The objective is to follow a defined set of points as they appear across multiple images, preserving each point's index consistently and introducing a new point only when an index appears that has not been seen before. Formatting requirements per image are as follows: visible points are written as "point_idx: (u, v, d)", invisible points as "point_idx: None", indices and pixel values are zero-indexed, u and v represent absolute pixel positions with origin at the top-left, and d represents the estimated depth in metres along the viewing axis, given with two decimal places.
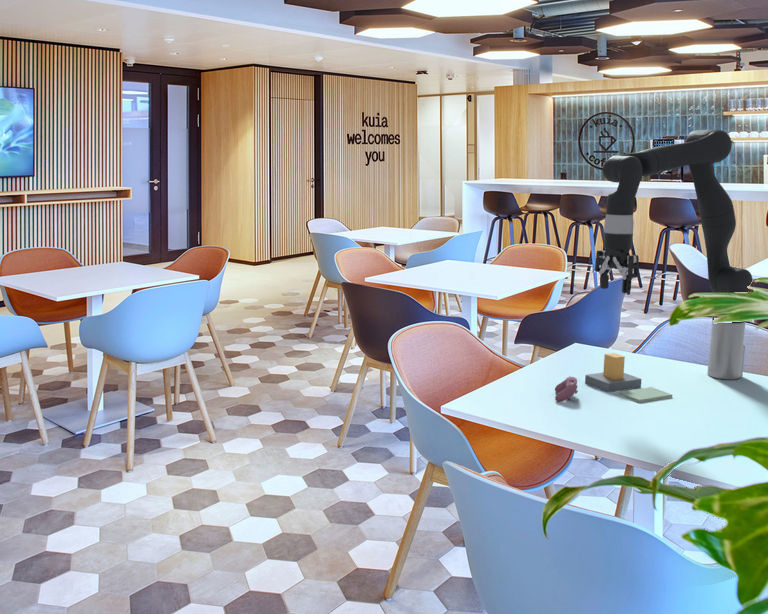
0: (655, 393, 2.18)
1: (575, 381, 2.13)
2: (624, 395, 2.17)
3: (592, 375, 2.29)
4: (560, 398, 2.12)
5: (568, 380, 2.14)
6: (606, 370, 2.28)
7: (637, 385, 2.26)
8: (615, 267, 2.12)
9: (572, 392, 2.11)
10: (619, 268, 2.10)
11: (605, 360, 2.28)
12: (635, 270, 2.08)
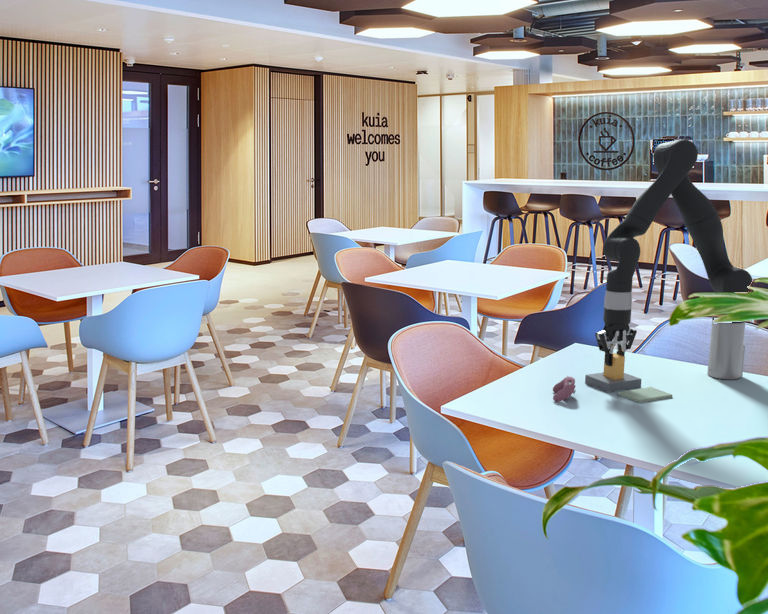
0: (655, 393, 2.18)
1: (573, 381, 2.13)
2: (624, 395, 2.17)
3: (592, 375, 2.29)
4: (558, 398, 2.12)
5: (566, 380, 2.14)
6: (606, 370, 2.28)
7: (637, 385, 2.26)
8: (620, 339, 2.25)
9: (570, 392, 2.11)
10: (624, 341, 2.25)
11: None
12: (626, 341, 2.29)
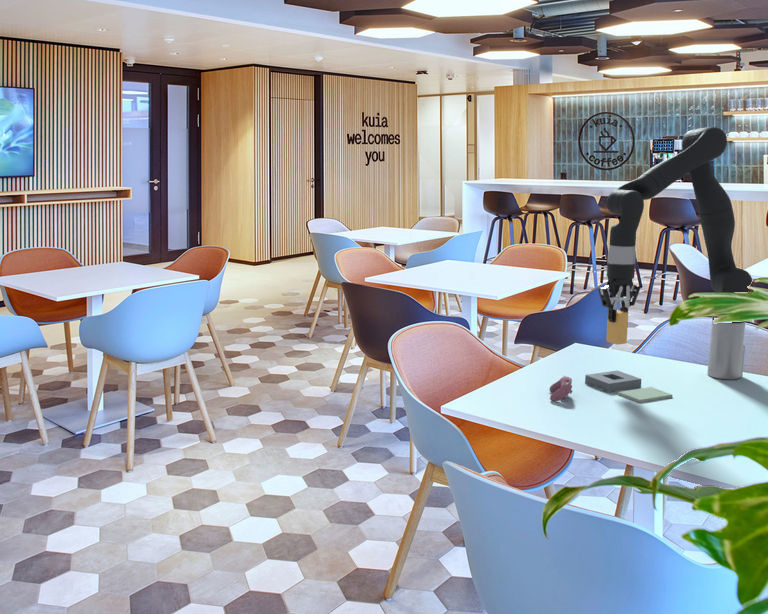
0: (655, 393, 2.18)
1: (570, 381, 2.13)
2: (624, 395, 2.17)
3: (592, 375, 2.29)
4: (554, 398, 2.12)
5: (563, 380, 2.14)
6: (609, 327, 2.25)
7: (637, 385, 2.26)
8: (624, 295, 2.22)
9: (567, 392, 2.11)
10: (628, 297, 2.22)
11: None
12: (630, 298, 2.26)
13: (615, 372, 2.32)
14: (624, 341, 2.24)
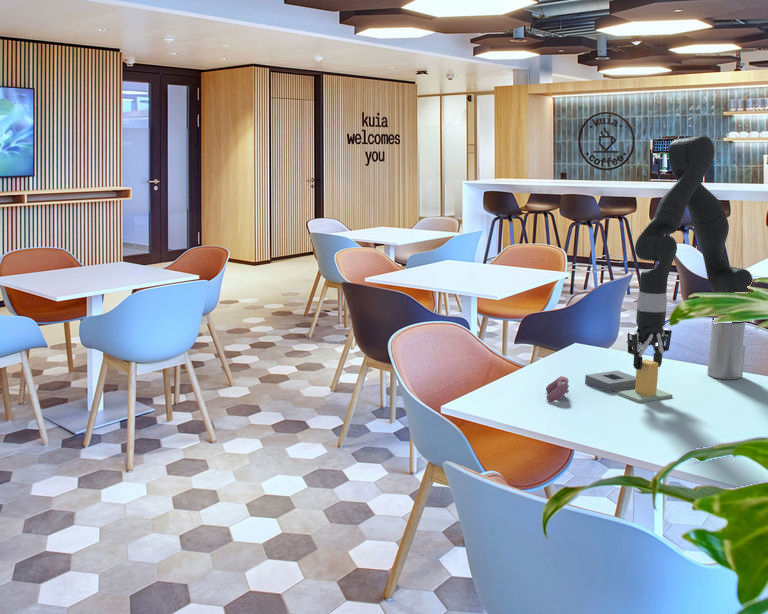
0: None
1: (566, 381, 2.13)
2: (624, 395, 2.17)
3: (592, 375, 2.29)
4: (551, 398, 2.12)
5: (559, 380, 2.14)
6: (638, 378, 2.17)
7: None
8: (654, 343, 2.15)
9: (563, 392, 2.11)
10: (661, 344, 2.15)
11: None
12: (663, 342, 2.18)
13: (615, 372, 2.32)
14: (654, 392, 2.16)
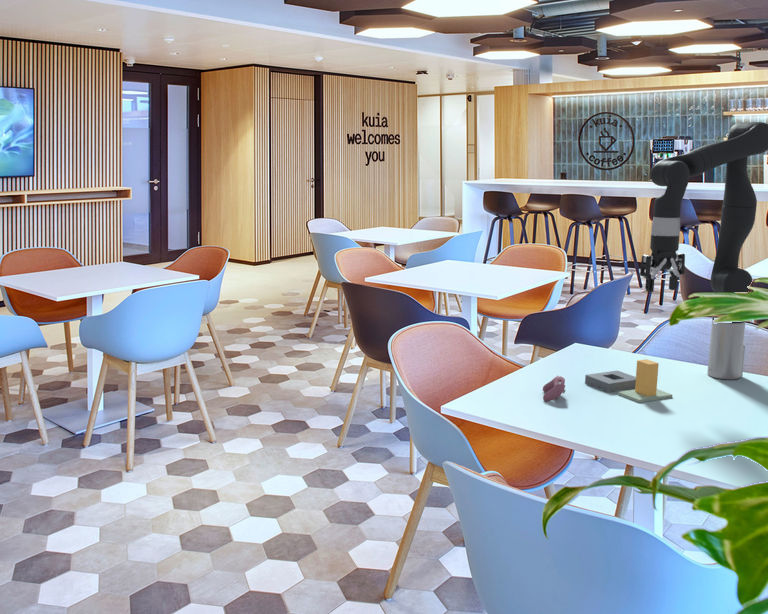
0: None
1: (563, 381, 2.13)
2: (624, 395, 2.17)
3: (592, 375, 2.29)
4: (548, 398, 2.12)
5: (556, 380, 2.14)
6: (638, 378, 2.17)
7: None
8: (667, 268, 2.20)
9: (560, 392, 2.11)
10: (675, 267, 2.20)
11: (638, 367, 2.17)
12: (677, 266, 2.24)
13: (615, 372, 2.32)
14: (654, 392, 2.16)
